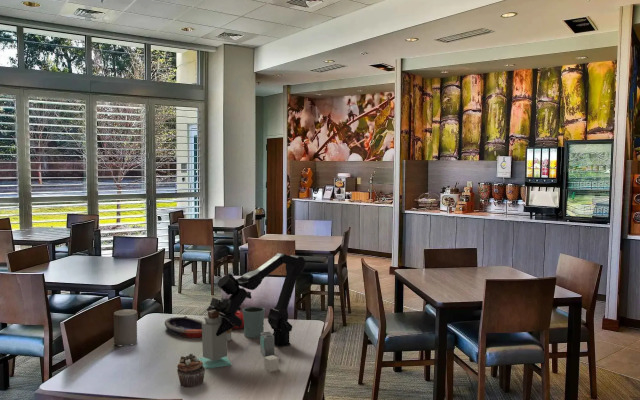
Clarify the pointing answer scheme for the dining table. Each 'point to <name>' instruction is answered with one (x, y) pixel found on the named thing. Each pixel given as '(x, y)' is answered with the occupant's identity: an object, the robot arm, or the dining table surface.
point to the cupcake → (190, 371)
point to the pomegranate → (240, 318)
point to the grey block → (271, 363)
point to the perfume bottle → (213, 337)
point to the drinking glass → (253, 321)
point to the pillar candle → (125, 327)
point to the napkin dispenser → (267, 344)
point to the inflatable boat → (184, 327)
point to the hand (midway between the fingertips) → (211, 334)
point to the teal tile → (215, 362)
